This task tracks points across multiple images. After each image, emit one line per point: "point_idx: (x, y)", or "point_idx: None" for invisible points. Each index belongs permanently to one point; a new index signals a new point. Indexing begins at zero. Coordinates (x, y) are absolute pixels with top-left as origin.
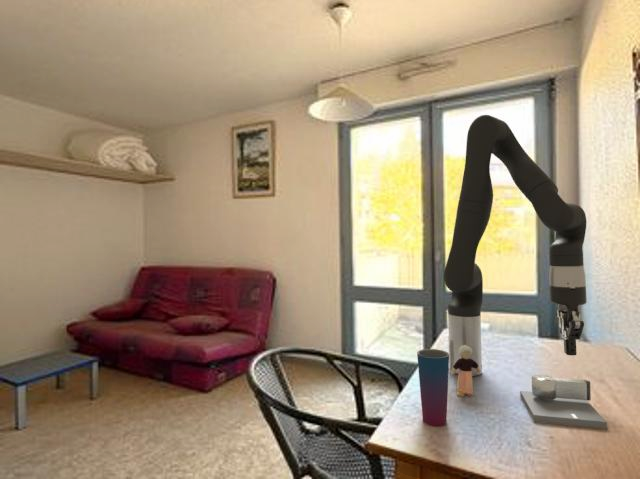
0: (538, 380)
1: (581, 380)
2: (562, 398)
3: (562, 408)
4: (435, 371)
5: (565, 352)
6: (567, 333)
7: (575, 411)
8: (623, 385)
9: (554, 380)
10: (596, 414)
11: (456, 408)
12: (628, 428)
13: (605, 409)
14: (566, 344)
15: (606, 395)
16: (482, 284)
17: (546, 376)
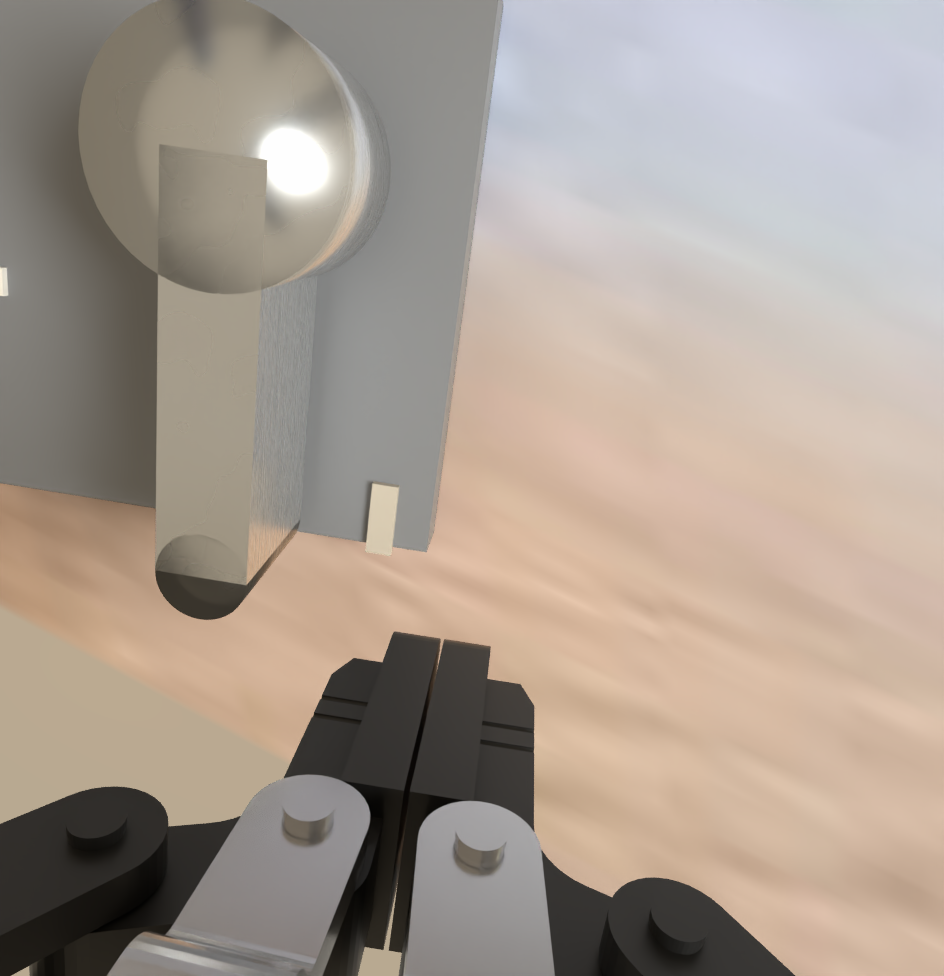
0: (117, 45)
1: (221, 557)
2: (342, 355)
3: (117, 254)
4: None
5: (426, 641)
6: (41, 894)
7: (80, 336)
8: (792, 971)
9: (162, 261)
10: (64, 470)
11: None
12: (39, 596)
13: (319, 620)
14: (360, 731)
15: (588, 763)
16: None
17: (290, 221)
